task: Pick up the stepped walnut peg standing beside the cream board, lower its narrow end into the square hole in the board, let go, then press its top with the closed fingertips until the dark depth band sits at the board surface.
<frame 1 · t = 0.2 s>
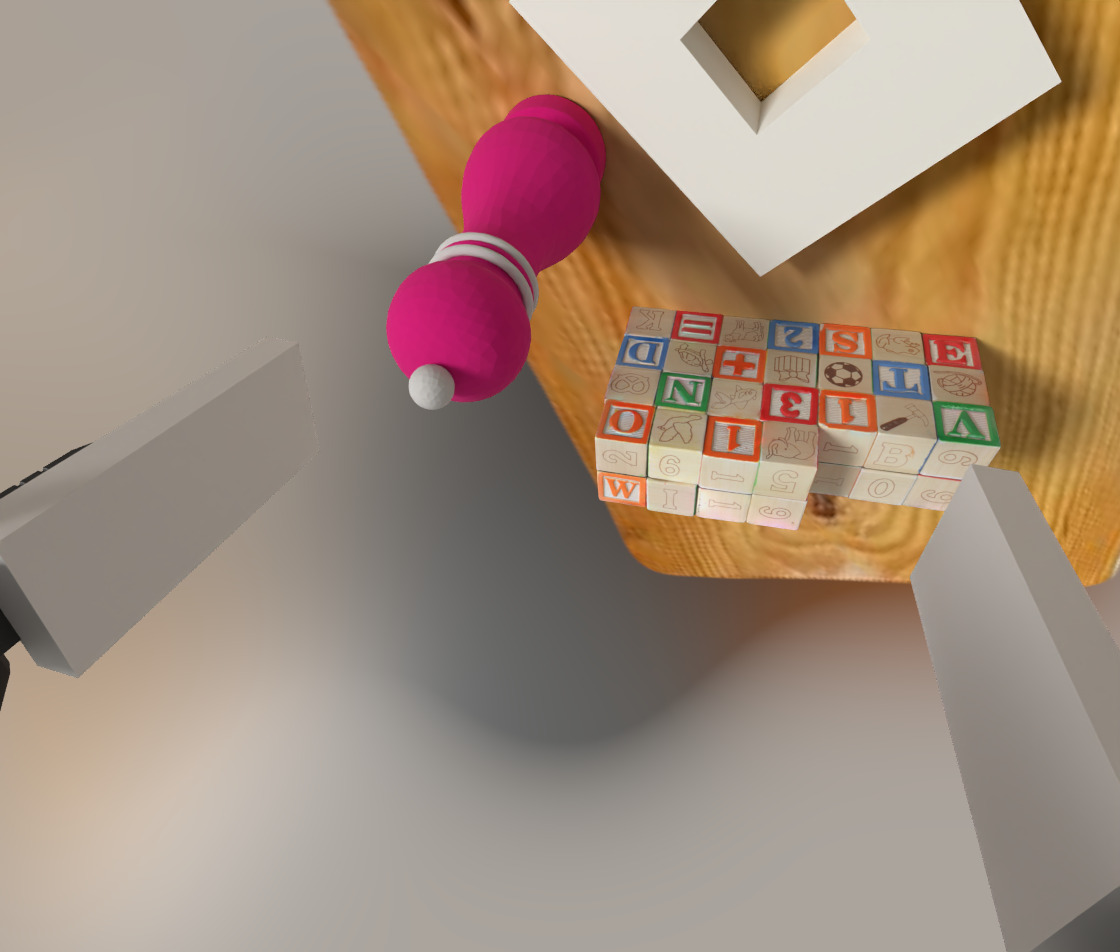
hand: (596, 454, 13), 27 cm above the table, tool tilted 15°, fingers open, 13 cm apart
cream board: (775, 10, 28), on the table
pepper mill: (553, 151, 36), on the table
stack of blocks: (785, 353, 43), on the table
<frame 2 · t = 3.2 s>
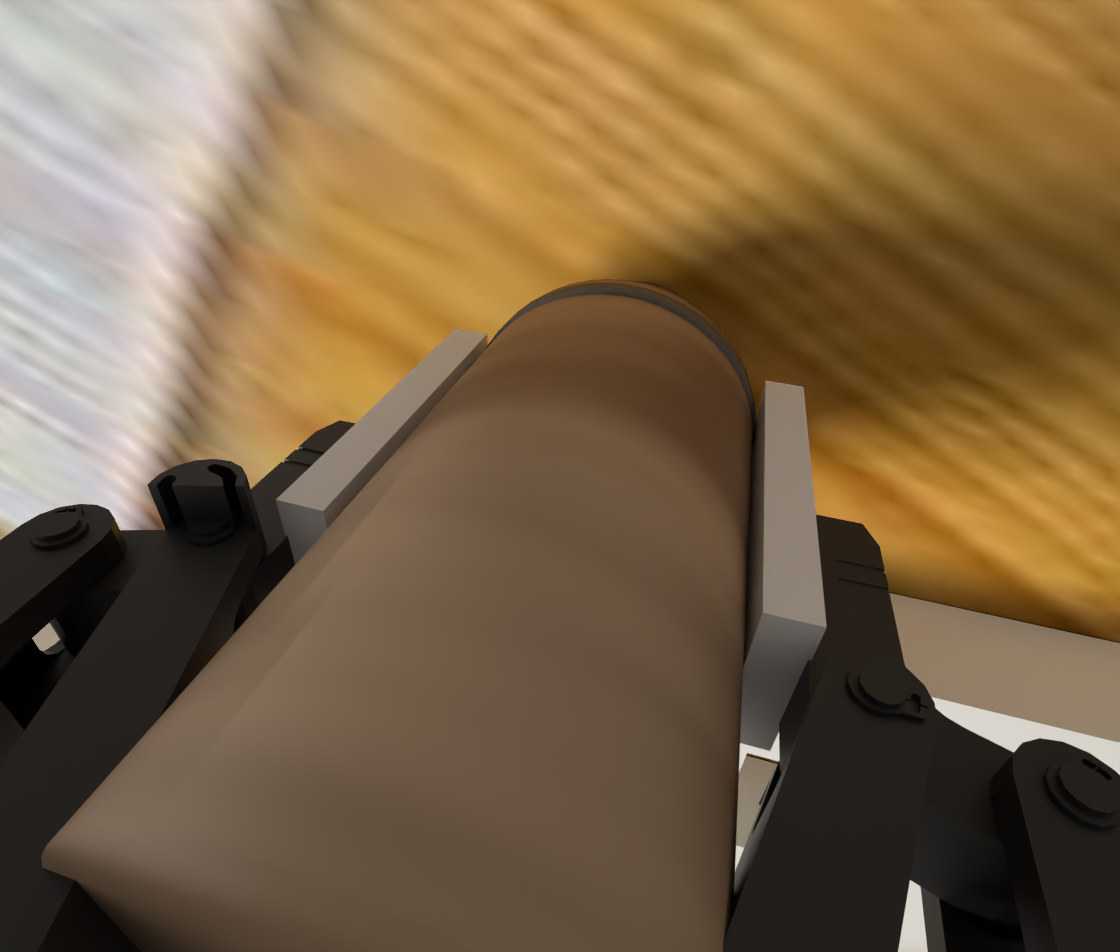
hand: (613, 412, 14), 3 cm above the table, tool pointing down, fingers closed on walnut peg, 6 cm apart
cream board: (809, 726, 23), on the table
walnut peg: (635, 358, 16), on the table, touching gripper
when the fingers open (5 cm above the table, at t = 8.5 s): walnut peg drops 1 cm, resting on cream board.
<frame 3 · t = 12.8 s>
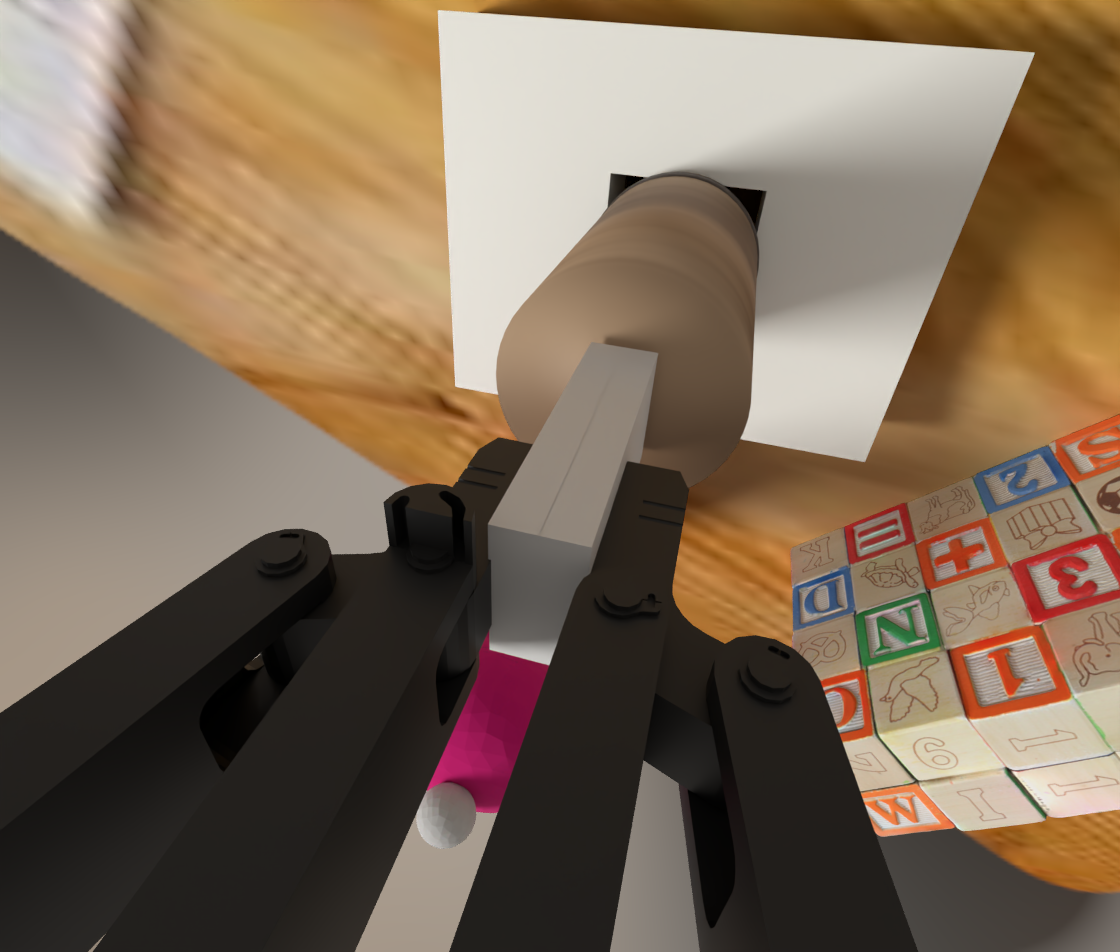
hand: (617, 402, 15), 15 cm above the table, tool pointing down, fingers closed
cream board: (684, 236, 26), on the table
walnut peg: (681, 239, 26), resting on cream board, touching gripper
pepper mill: (589, 465, 34), on the table
stack of blocks: (1035, 502, 29), on the table
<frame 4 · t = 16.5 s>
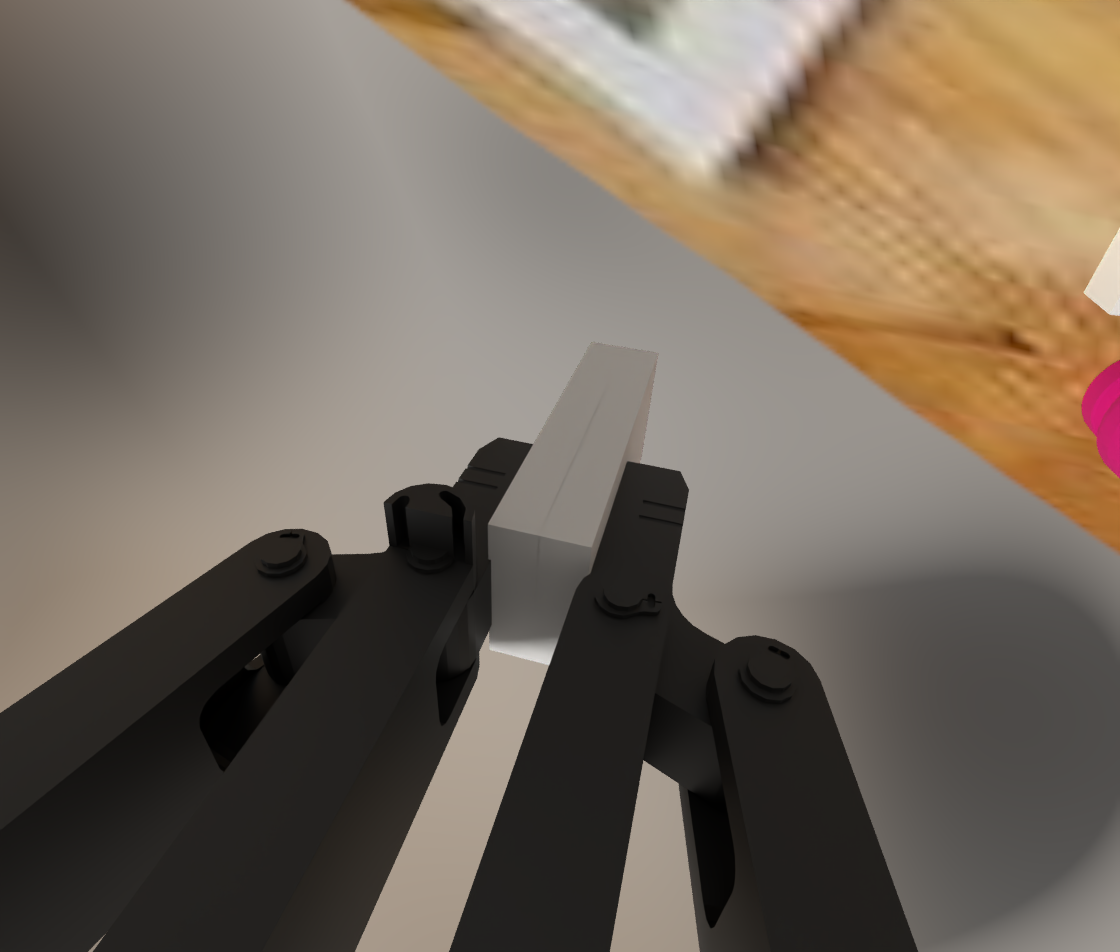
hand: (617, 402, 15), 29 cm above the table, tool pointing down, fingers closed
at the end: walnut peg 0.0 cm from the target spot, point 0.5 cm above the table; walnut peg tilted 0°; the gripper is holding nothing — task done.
